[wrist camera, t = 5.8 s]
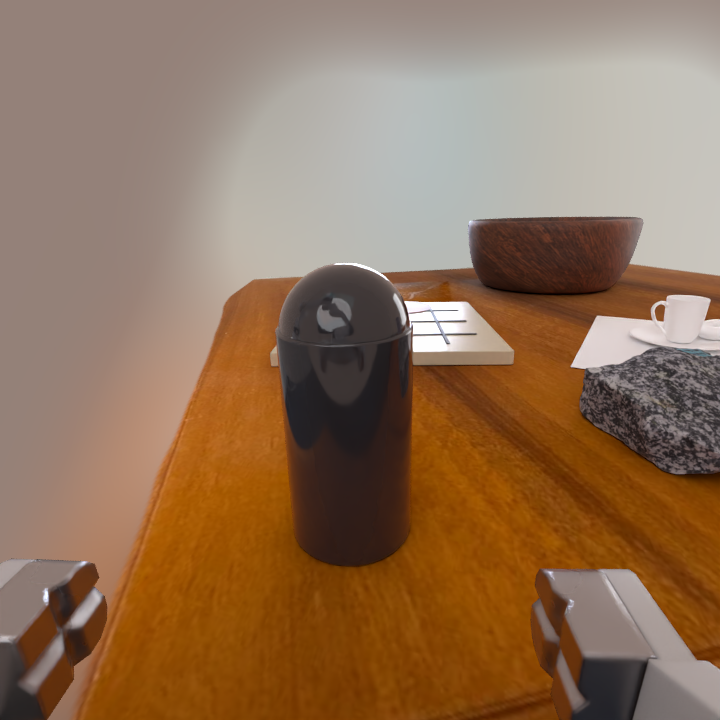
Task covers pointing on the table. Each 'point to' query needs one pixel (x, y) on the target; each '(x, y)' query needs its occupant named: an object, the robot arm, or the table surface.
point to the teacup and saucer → (650, 333)
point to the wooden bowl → (553, 252)
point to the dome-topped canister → (347, 413)
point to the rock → (660, 407)
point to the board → (450, 336)
